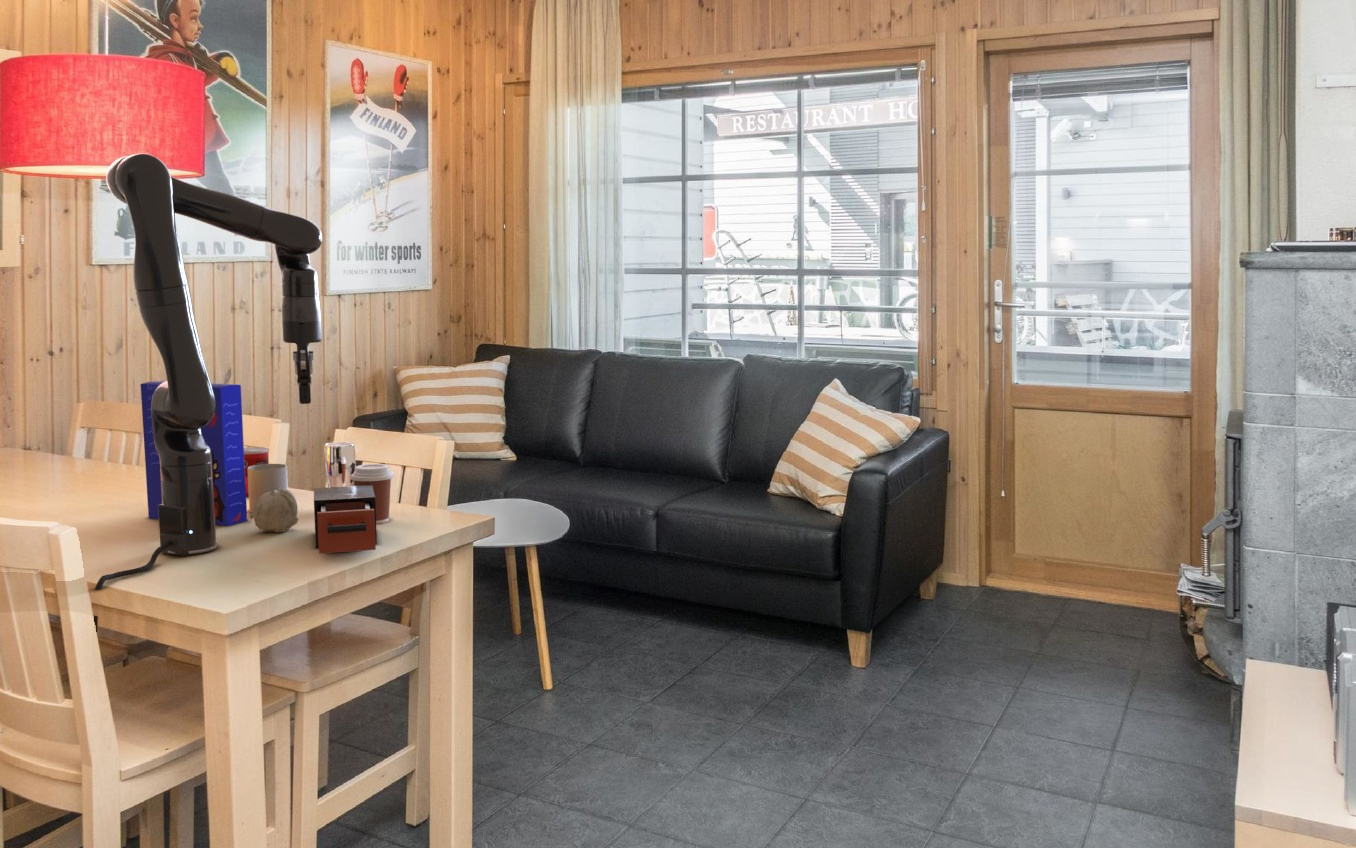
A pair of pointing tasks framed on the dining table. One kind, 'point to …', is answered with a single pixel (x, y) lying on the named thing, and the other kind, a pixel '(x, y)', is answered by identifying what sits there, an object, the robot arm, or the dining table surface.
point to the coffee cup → (376, 486)
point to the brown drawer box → (346, 527)
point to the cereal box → (225, 451)
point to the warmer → (343, 500)
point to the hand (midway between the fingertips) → (305, 403)
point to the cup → (265, 480)
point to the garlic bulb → (275, 511)
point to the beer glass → (339, 463)
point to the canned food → (254, 460)
